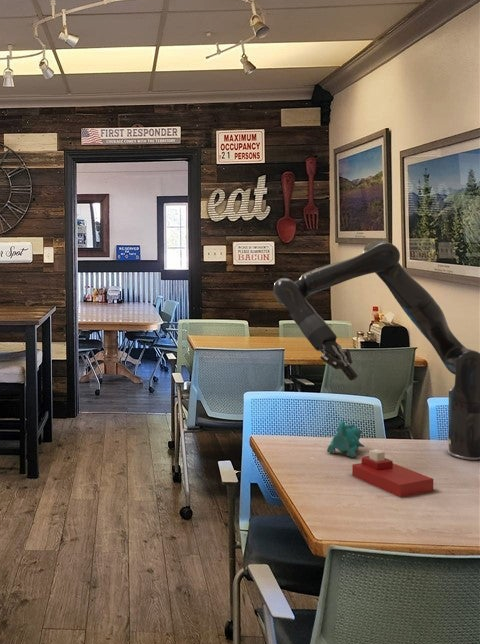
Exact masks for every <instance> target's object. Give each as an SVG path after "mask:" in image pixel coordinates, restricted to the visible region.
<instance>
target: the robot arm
mask: <svg viewBox="0 0 480 644" xmlns="http://www.w3.org/2000/svg"><path fill="white" fill-rule="evenodd" d="M400 260H401V252H400V250H399V248H398V247H397V246H396V245H395V244H393V243H391V242H388V241H384V240H373V241H370V242H368V243H367V244H366V245H365V246H364V248H363V251H362V253H360V254H358V255H356V256H354V257H351V258H347V259H345V260H340V261H337V262H333V263H329V264H325V265H322V266H319V267H316V268H314V269H312V270H309V271H306V272H304V273H303V274H301V276H300V278H299V279H297V280H295V281H294V280H292V279H290V278H288V277H281V278H278V279H277V280H276V281H275V282H274V285H273V293H274V297H275V300H276V302H277V303H278V304H280V305H282V306H285V308H286V309H287V310H288V313H289V315H290V318H292V320H293V322H294V323H295V324H296V325H297V326H298V328H299V329H300V331H301V333H302V335H303V336H304V337H305V339H307V341H308V342H309V343H310V345H311V346H312V347H313V349H314V350H315V351H317V352H321V354H322V355H321V356H320V357H319V359H320V360H321V361H323V362H325V363H326V364H327V365H329V366H330V367H332V368H333V369H334V370H339V371H341V372H343V373H344V375H345V376H346V378H347V379H348V380H349V381H355V380H356V379H357V378H358V374H357V373H356V371H355V370H354V368H352V367H351V365H352V364H353V359H352V355H351V351H350V350H349V349H348V348H345V349H343V348H342V345H340V344H339V343H338V342H337V338H338V337H337V335H336V333H335V332H334V331H333V329H331V327H330V325H329V324H327V322H326V321H325V319H324V318H322V317H321V316H320V315H319V313H317V311H316V310H315V309H314V307H313V306H312V305H311V304H310V303H309V302H308V300H307V298H308V297H309V296H311V295H313V294H315V293H318V292H321V291H324V290H326V289H328V288H332V287H333V286H337V285H340V284H342V283H344V282H347V281H349V280H352V279H355V278H359V277H363V276H366V275H370V274H376V275H377V276H378V277H379V279H380V280H381V281H382V282H383V283H384V284H385V286H386V287H387V288H388V290H389V291H390V293H391V294H392V296H393V298H394V299H395V300H396V302H397V303H398V305H399V306H400V308H401V309H402V310H403V312H404V313H405V315H406V316H407V317H408V318H409V320H410V321H411V322H412V324H414V325H415V327H416V328H417V329H418V330H419V332H420V333H421V334H422V335H423V337H425V339H426V340H427V341H428V342H429V343H430V344H431V346H432V347H433V349H434V351H435V352H436V354H437V355H438V357H439V358H440V360H441V362H442V364H443V365H444V367H445V368H446V369H447V370H448V371H449V372H450V373H451V374H452V375H454V386H453V387H451V388H450V389H449V390H448V437H447V439H446V440H447V443H448V450H447V454H449V455H450V456H452V457H454V458H458V459H461V460H466V461H467V460H468V461H480V352H479V351H477V350H474V349H471V348H467V347H466V346H465V345H463V343H462V342H461V341H460V340H459V339H458V338H457V337H456V336H455V335H454V333H453V332H452V331H451V329H450V327H449V325H448V321H447V318H446V316H445V314H444V311H443V310H442V308H441V306H440V305H439V304H438V302H437V301H436V300H435V299H434V297H433V296H432V295H431V293H429V291H428V290H426V289H425V287H423V286H422V285H421V284H420V283H419V282H418V281H417V280H415V279H414V278H413V277H412V276H411V275H409V273H407V271H406V270H405V269H404V267H403V266H402V265H401V263H400Z"/></svg>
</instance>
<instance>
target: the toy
mask: <svg viewBox="0 0 480 644" xmlns="http://www.w3.org/2000/svg"><path fill="white" fill-rule="evenodd" d="M361 436H362V430H359V428H357V427H356V425H355V424H353V423H350V424H345V421H344V420H341V421H339V424H338V427H337V432H336V434H335V435H334V436H333V438H332V440H331V441H330V442H329V445H328V447H327V449H326V452H327V453H329V454H330V455H333V454H334V455H335V454H336V450H338V451H340V452H343V453H346V456H347V457H350V459H353V458H356V457H357V455H356V452H357V451H358V450H359V448H360V447H362V448H365V445H364V444H363V443H361V442H360V439H361Z"/></svg>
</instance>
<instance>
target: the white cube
mask: <svg viewBox="0 0 480 644" xmlns="http://www.w3.org/2000/svg"><path fill="white" fill-rule="evenodd" d="M368 452H369V453H368V456H369V458H370V459H372V460H375V461H377V462H378V461H384V460H385V458H386V456H385V455H386V453H385V451H383V450H380V449H377V448H375V449H369V451H368Z"/></svg>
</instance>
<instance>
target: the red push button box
mask: <svg viewBox="0 0 480 644" xmlns="http://www.w3.org/2000/svg"><path fill="white" fill-rule="evenodd" d="M360 459H361V462H360V463H359V462H358V463H353V464H352V466H351V468H352V471H351V472H352V473H351V475H352V477H353V478H356V479H358V480H360V481H363V482H365V483H368V484H370V485H372V486H374V487H376V488H378V489H381V490H384V491H386V492H387V493H390V494H392V495H394V496H397V497H399V498H404V497H408V496H409V497H410V496H414V495H419V494H425V493H429V492H434V478H433V477H429V476H427V475H424V474H422V473H419V472H417V471H414V470H412V469H409V468H407V467H404V466H402V465H399V464H397V463H394V461H393V460H391V459H389V458H386V457H385V460H384V461H378V462H377V461H375V460H372V459H370V458H369V455H365V456H361V457H360Z"/></svg>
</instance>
